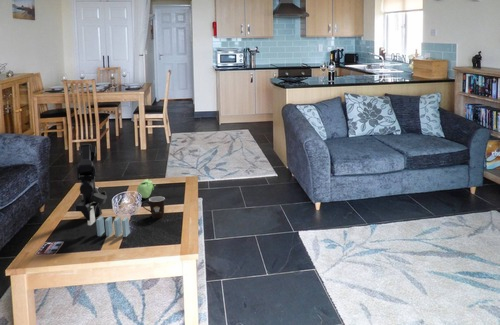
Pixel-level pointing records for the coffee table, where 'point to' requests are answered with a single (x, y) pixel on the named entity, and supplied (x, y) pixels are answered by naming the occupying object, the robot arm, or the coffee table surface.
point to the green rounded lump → (145, 188)
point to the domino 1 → (92, 216)
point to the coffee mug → (156, 206)
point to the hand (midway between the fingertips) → (91, 218)
